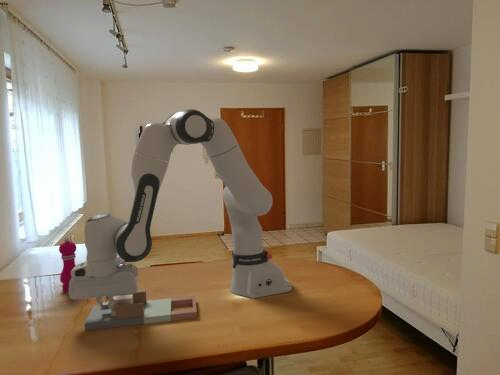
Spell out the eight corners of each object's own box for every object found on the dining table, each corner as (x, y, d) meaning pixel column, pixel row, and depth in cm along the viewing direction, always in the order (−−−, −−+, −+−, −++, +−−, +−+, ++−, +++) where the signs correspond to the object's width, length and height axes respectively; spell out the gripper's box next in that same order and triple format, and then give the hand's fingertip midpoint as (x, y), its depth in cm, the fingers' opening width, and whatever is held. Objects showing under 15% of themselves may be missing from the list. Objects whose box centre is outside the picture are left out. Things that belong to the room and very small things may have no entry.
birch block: (133, 306, 129) (132, 294, 129) (131, 314, 124) (130, 301, 123) (114, 308, 128) (113, 296, 128) (111, 316, 123) (110, 303, 122)
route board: (195, 301, 137) (194, 284, 136) (197, 317, 124) (196, 299, 123) (94, 311, 131) (92, 294, 130) (85, 330, 118) (83, 311, 117)
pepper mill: (61, 293, 148) (56, 241, 145) (60, 287, 154) (55, 237, 152) (82, 289, 151) (77, 238, 149) (80, 284, 157) (76, 234, 155)
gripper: (138, 260, 128) (141, 301, 130) (70, 266, 125) (74, 308, 127) (136, 266, 122) (139, 309, 124) (65, 272, 119) (69, 316, 120)
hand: (106, 308), depth 125 cm, fingers closed
